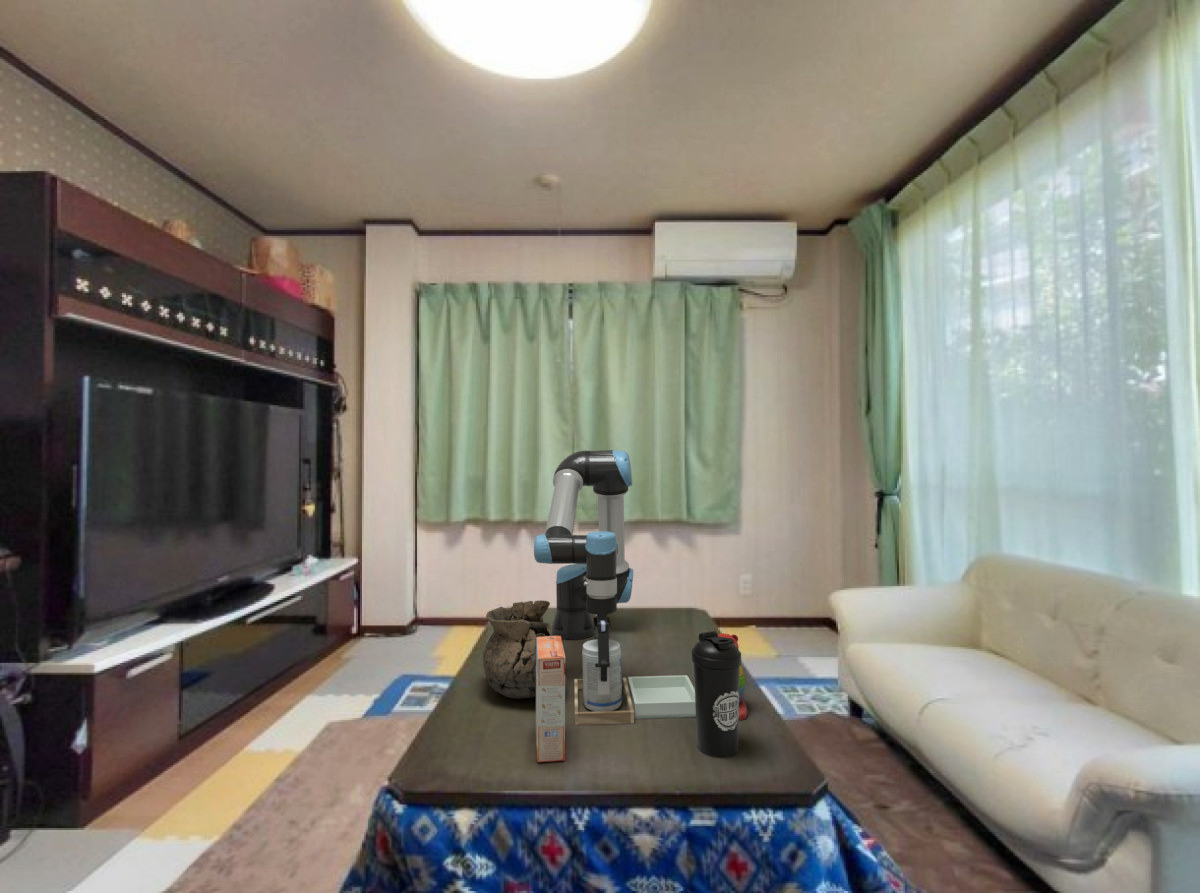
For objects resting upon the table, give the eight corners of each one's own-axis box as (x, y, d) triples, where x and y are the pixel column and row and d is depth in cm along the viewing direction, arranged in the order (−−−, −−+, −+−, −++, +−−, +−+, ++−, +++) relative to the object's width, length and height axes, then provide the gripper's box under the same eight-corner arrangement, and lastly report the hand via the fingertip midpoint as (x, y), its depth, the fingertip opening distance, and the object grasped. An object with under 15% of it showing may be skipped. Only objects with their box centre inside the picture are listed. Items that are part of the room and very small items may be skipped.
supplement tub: (629, 707, 133) (629, 646, 133) (596, 717, 128) (596, 654, 128) (607, 693, 141) (606, 635, 141) (575, 702, 136) (575, 642, 136)
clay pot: (487, 673, 154) (487, 597, 155) (571, 672, 155) (570, 596, 155) (467, 715, 129) (466, 623, 130) (566, 713, 130) (566, 622, 130)
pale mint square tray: (628, 690, 142) (628, 676, 142) (687, 688, 143) (687, 675, 143) (635, 718, 127) (634, 703, 127) (701, 716, 128) (701, 701, 128)
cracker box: (566, 761, 109) (566, 656, 110) (536, 764, 108) (535, 658, 109) (562, 727, 123) (562, 634, 123) (535, 729, 122) (535, 635, 123)
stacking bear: (698, 714, 129) (697, 638, 129) (706, 696, 138) (705, 626, 139) (745, 722, 125) (744, 643, 125) (750, 703, 134) (749, 630, 135)
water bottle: (711, 764, 108) (710, 647, 108) (683, 740, 117) (682, 632, 118) (752, 753, 112) (751, 640, 112) (722, 730, 121) (721, 626, 122)
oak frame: (574, 688, 144) (574, 679, 144) (625, 687, 144) (625, 677, 144) (574, 725, 124) (574, 713, 124) (634, 723, 125) (634, 712, 125)
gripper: (585, 584, 147) (585, 664, 146) (587, 608, 122) (588, 705, 121) (612, 583, 147) (613, 663, 147) (621, 608, 123) (621, 704, 122)
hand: (602, 682), depth 134 cm, fingers open, 13 cm apart
